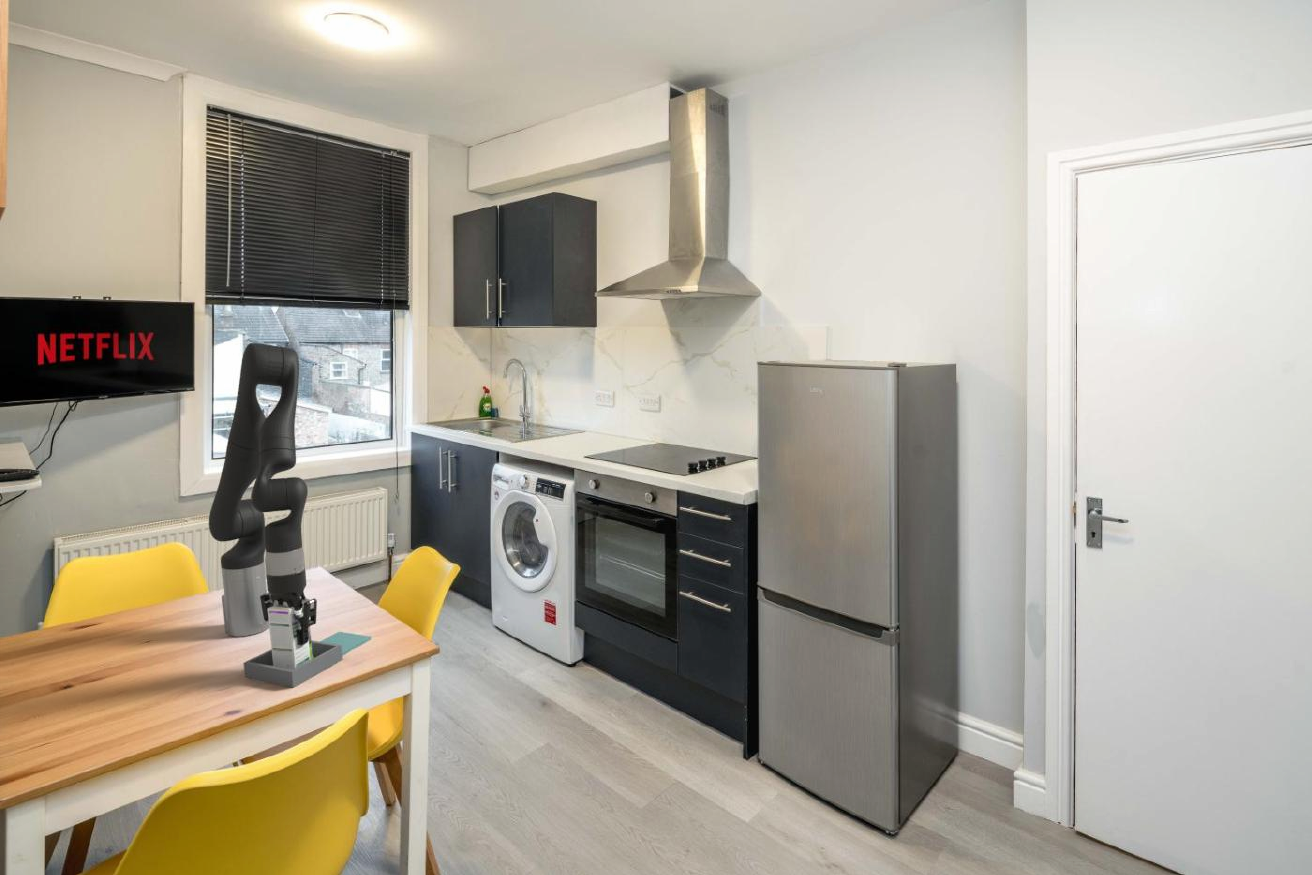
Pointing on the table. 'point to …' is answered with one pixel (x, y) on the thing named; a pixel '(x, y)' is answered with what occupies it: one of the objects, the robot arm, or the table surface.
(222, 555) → the robot arm
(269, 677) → the bin
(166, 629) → the table surface
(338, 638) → the mat
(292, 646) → the syrup box
